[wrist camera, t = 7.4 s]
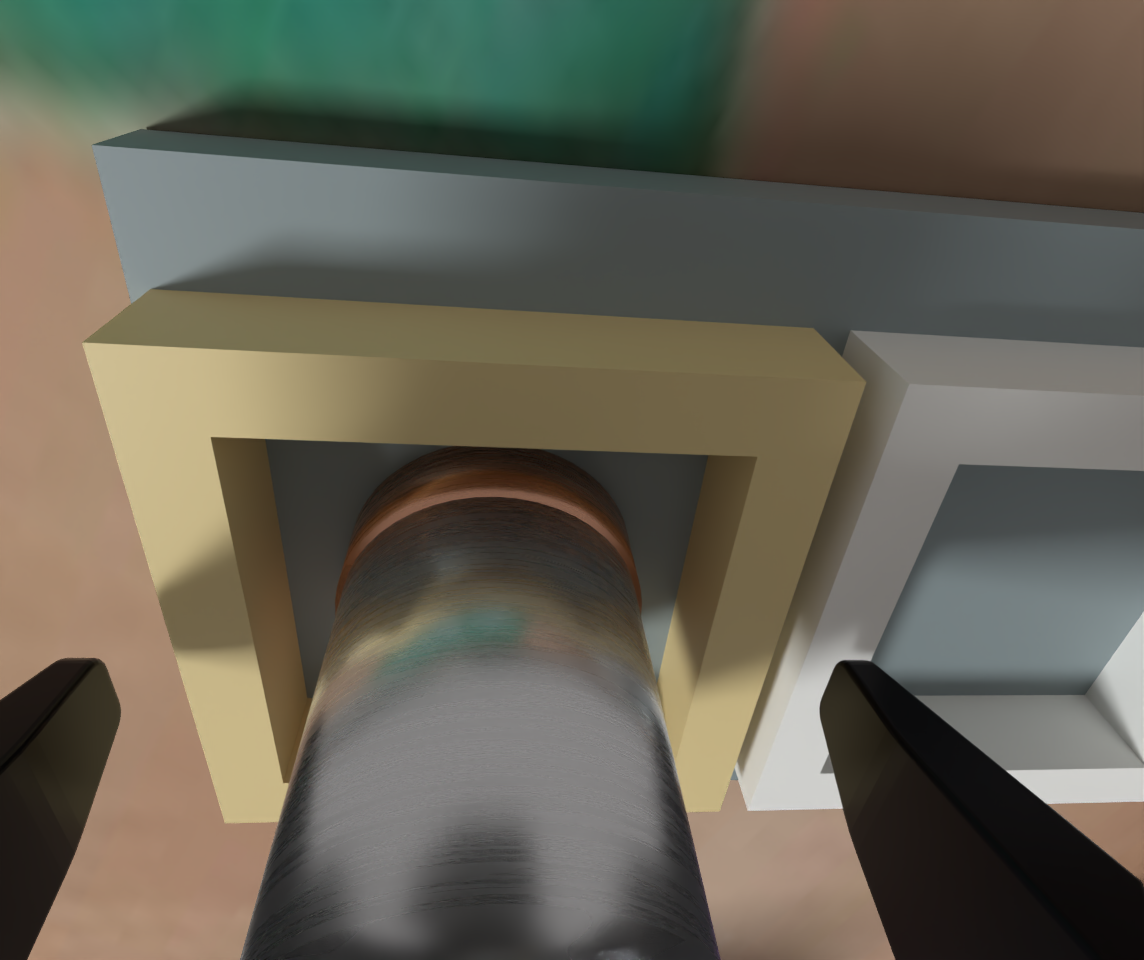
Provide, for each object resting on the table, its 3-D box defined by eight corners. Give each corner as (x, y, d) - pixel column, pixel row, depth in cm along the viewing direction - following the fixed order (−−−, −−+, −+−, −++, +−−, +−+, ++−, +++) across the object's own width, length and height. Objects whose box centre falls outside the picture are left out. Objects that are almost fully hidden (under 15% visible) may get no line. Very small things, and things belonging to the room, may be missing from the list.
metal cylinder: (611, 657, 12) (688, 1108, 7) (361, 657, 12) (256, 1141, 7) (647, 447, 10) (794, 887, 5) (339, 436, 9) (154, 912, 4)
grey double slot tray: (1385, 233, 10) (1642, 296, 8) (1046, 726, 16) (1137, 846, 14) (140, 128, 8) (0, 173, 6) (269, 734, 14) (224, 875, 12)
